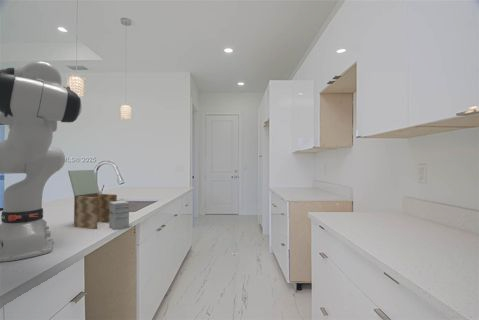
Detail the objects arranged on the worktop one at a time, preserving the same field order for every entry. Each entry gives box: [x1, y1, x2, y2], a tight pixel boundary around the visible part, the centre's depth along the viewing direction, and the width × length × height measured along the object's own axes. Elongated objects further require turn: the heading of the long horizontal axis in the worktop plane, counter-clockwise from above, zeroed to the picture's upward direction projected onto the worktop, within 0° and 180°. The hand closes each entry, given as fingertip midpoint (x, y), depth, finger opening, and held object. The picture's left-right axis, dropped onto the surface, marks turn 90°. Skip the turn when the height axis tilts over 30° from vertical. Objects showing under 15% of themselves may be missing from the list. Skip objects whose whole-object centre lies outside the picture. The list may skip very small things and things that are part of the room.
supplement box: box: [108, 200, 130, 230], centre depth 127 cm, size 7×7×13 cm
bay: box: [73, 193, 118, 230], centre depth 132 cm, size 19×13×24 cm
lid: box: [67, 169, 101, 197], centre depth 134 cm, size 14×15×1 cm
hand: (27, 138), depth 114 cm, fingers open, 8 cm apart
